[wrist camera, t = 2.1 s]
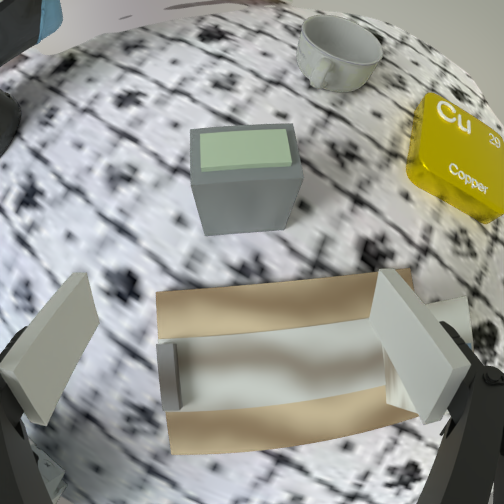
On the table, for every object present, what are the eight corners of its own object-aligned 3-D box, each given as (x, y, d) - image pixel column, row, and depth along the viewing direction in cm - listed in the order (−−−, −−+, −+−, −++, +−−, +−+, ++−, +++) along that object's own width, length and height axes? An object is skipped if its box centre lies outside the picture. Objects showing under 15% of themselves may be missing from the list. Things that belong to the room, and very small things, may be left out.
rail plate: (158, 293, 31) (119, 266, 20) (405, 269, 33) (466, 237, 22) (173, 451, 27) (143, 498, 16) (421, 412, 28) (486, 429, 18)
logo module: (203, 191, 34) (189, 124, 23) (277, 186, 35) (294, 118, 24) (205, 236, 33) (189, 181, 22) (283, 229, 33) (305, 173, 22)
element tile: (401, 181, 36) (419, 162, 32) (414, 104, 40) (427, 84, 36) (489, 230, 35) (510, 217, 31) (490, 150, 39) (506, 135, 35)
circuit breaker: (87, 451, 26) (5, 499, 11) (47, 518, 22) (-18, 566, 8) (37, 406, 27) (-57, 423, 12) (4, 478, 23) (-71, 508, 9)
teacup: (318, 45, 42) (328, 6, 35) (378, 81, 41) (396, 43, 33) (263, 85, 39) (268, 40, 31) (332, 129, 37) (349, 86, 30)
